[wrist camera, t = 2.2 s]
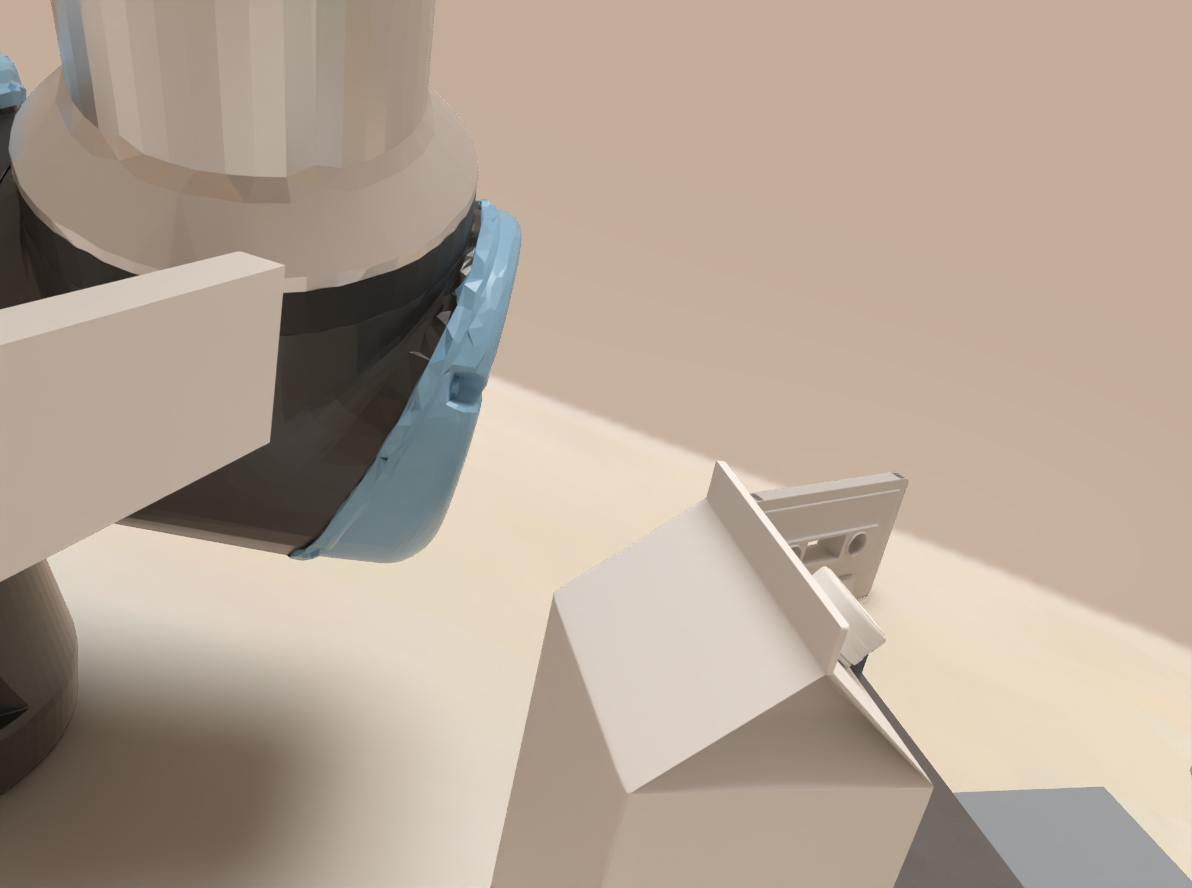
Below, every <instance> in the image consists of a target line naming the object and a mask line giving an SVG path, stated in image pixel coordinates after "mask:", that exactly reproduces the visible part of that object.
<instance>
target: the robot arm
mask: <svg viewBox="0 0 1192 888" xmlns="http://www.w3.org/2000/svg"><path fill="white" fill-rule="evenodd" d="M51 6H52V11H53V17H54V22H55V28H56V33H57V39H58V45H59V50H60V56H61V61H62V65H61V66H60V67H58V68H57V69H56V70H55V71H54V72H53V73H52V74H51V75H49V76H48V77H47V78H46V79H45V80H44V81H43V82H42V83H40V84H39V86H38V87H37V88H36V89H35V90H34V91H33V92H32V93H31V94H30V95H29V96H28V97H27V98H26V89H25V88H24V86H23V85H22V84H21V81H20V79H19V75H18V72H17V70H16V67H15V65H14V63H13V62H12V61H11V60H10V59H9V58H8V57H7V56H5V55H4V54H2V53H0V794H2V793H3V792H5V791H6V790H7V789H9V788H10V787H12V786H13V785H14V784H16V783H17V782H18V781H19V780H21V779H22V778H23V777H24V776H26V775H27V774H28V773H29V772H30V771H31V770H32V769H33V768H34V767H36V766H37V765H38V764H39V763H40V762H41V761H42V760H43V758H44V757H45V756H46V755H47V754H48V753H49V752H50V751H51V749H52V748H53V747H54V746H55V745H56V743H57V742H58V740H59V739H60V737H61V736H62V734H63V733H64V731H65V729H66V727H67V726H68V724H69V721H70V719H71V717H72V715H73V711H74V708H75V705H76V700H77V691H78V643H77V636H76V631H75V627H74V623H73V620H72V618H71V615H70V613H69V610H68V608H67V606H66V603H65V601H64V599H63V596H62V594H61V592H60V590H59V587H58V585H57V583H56V580H55V578H54V576H53V574H52V571H51V569H50V567H49V564H48V562H47V560H46V558H48V557H49V556H51V555H53V554H55V553H57V552H59V551H61V550H63V549H65V548H67V547H69V546H71V545H73V544H75V543H76V542H78V541H80V540H82V539H84V538H86V537H88V536H90V535H92V534H94V533H96V532H98V531H100V530H102V529H104V528H105V527H107V526H109V525H111V524H113V523H114V524H120V525H125V526H131V527H136V528H142V529H147V530H152V531H158V532H163V533H169V534H174V535H180V536H185V537H191V538H196V539H202V540H207V541H213V542H218V543H224V544H229V545H235V546H240V547H246V548H251V549H257V550H262V551H268V552H273V553H278V554H284V555H287V556H289V558H292V559H296V560H309V559H313V558H315V557H318V556H321V557H330V558H340V559H349V560H358V561H367V562H376V563H394V562H399V561H403V560H405V559H408V558H410V557H412V556H414V555H415V554H417V553H418V552H420V551H421V550H422V549H423V548H425V547H426V546H427V545H428V544H429V543H430V542H431V540H432V539H433V538H434V536H435V535H436V533H437V532H438V530H439V528H440V526H441V524H442V522H443V520H444V517H445V515H446V513H447V510H448V508H449V505H450V503H451V500H452V497H453V494H454V491H455V489H456V486H457V483H458V480H459V477H460V474H461V471H462V468H463V465H464V462H465V459H466V456H467V453H468V450H469V446H470V443H471V440H472V437H473V433H474V429H475V426H476V422H477V419H478V415H479V412H480V407H481V402H482V391H483V389H484V388H485V387H486V385H487V381H488V378H489V374H490V370H491V366H492V363H493V361H494V358H495V356H496V353H497V349H498V346H499V342H500V338H501V334H502V330H503V326H504V323H505V319H506V315H507V311H508V306H509V302H510V298H511V294H512V289H513V285H514V280H515V275H516V270H517V265H518V259H519V253H520V247H521V228H520V225H519V223H518V221H517V220H516V218H514V217H513V216H512V215H511V214H509V213H508V212H505V211H503V210H499V209H497V208H496V207H495V206H494V205H493V204H492V203H491V202H489V201H487V200H483V199H482V200H475V197H476V189H477V180H478V165H477V156H476V150H475V146H474V141H473V139H472V137H471V136H470V134H469V132H468V130H467V128H466V126H465V124H464V123H463V122H462V120H461V119H460V118H459V116H458V115H457V114H456V112H455V111H454V110H453V109H452V108H451V107H450V106H449V105H448V104H447V103H446V102H445V101H444V100H443V99H442V98H441V97H440V96H439V95H438V94H437V93H436V92H435V91H434V90H433V89H432V88H431V87H430V86H429V72H430V61H431V48H432V36H433V23H434V11H435V0H51ZM21 104H22V106H21ZM1190 771H1191V775H1192V767H1191V769H1190Z"/></svg>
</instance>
